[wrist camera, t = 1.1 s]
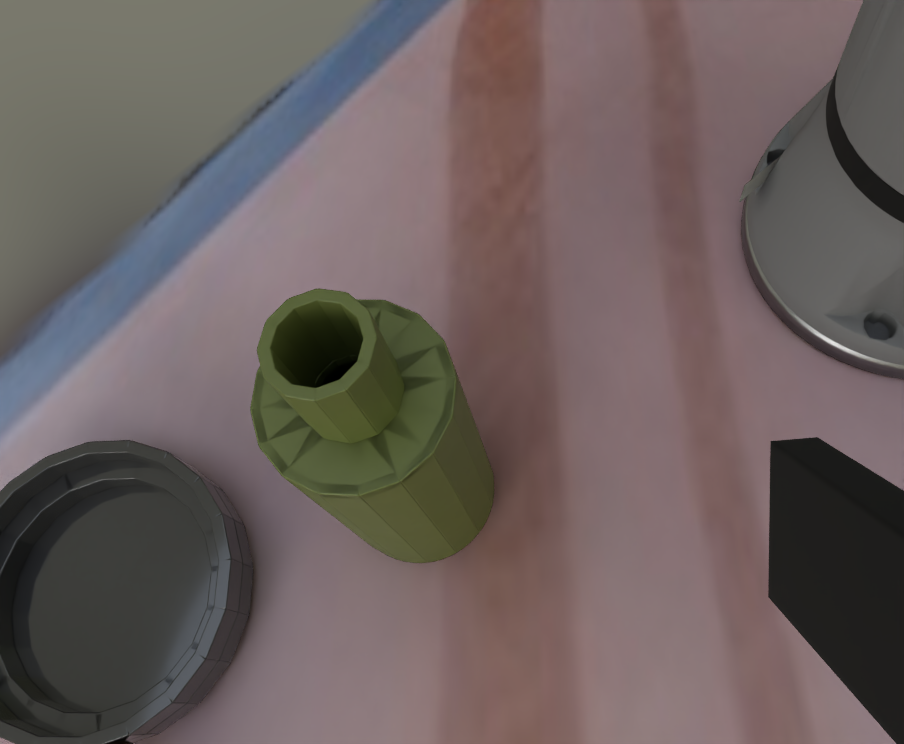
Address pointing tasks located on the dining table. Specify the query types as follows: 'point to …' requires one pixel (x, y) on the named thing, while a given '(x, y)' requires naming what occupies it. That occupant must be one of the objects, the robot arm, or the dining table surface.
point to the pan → (115, 594)
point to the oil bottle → (372, 423)
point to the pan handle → (122, 742)
